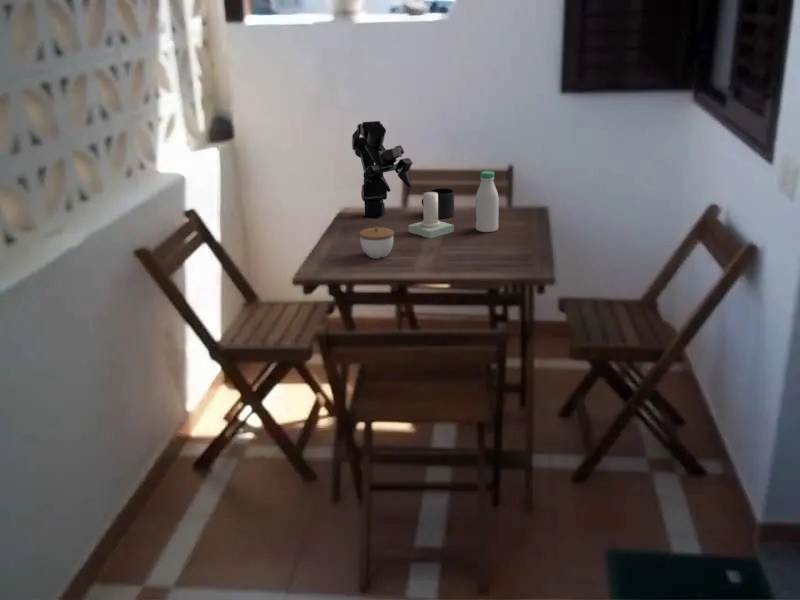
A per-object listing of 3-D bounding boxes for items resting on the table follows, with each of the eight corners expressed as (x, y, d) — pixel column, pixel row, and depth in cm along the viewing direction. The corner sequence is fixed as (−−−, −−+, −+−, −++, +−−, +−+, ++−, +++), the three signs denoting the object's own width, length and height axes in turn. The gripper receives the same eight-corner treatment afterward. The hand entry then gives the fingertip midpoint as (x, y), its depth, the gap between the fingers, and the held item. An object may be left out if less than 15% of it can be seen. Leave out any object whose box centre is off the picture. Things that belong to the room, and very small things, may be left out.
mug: (424, 211, 325) (423, 187, 321) (456, 212, 322) (456, 188, 319) (419, 218, 316) (418, 193, 313) (452, 219, 313) (451, 194, 310)
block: (408, 232, 299) (408, 225, 299) (432, 225, 306) (432, 219, 305) (430, 238, 292) (430, 231, 291) (453, 231, 298) (453, 225, 297)
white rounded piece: (422, 227, 295) (421, 196, 291) (421, 222, 301) (420, 191, 297) (440, 227, 295) (440, 195, 291) (439, 222, 301) (439, 191, 297)
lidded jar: (355, 253, 278) (354, 225, 275) (386, 248, 282) (385, 220, 279) (367, 262, 269) (366, 233, 266) (399, 257, 273) (398, 228, 270)
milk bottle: (502, 229, 299) (503, 172, 292) (485, 233, 295) (485, 175, 288) (488, 225, 305) (488, 168, 298) (471, 229, 301) (471, 171, 294)
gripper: (367, 142, 293) (389, 179, 289) (408, 134, 305) (430, 170, 301) (353, 162, 302) (375, 198, 298) (394, 154, 313) (415, 189, 309)
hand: (399, 188), depth 301 cm, fingers open, 9 cm apart
